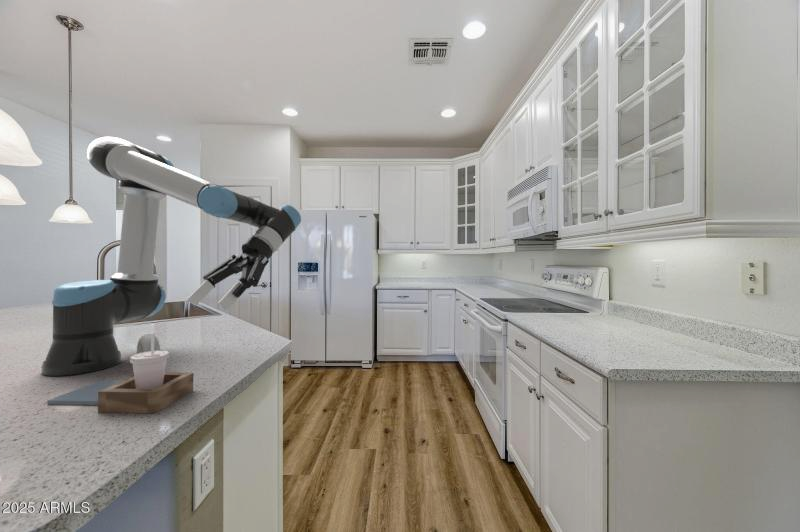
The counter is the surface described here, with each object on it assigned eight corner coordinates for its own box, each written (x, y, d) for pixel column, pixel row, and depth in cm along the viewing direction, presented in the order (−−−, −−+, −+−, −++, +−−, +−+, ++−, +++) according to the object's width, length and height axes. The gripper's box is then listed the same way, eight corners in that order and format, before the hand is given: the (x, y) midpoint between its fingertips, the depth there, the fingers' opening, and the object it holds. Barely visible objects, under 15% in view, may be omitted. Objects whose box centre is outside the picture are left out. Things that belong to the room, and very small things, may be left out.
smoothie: (146, 409, 61) (147, 338, 61) (120, 405, 62) (122, 336, 62) (176, 395, 67) (177, 331, 67) (152, 392, 69) (153, 329, 69)
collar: (144, 389, 70) (145, 371, 70) (193, 390, 70) (193, 372, 70) (97, 412, 59) (98, 391, 59) (155, 413, 59) (155, 392, 59)
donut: (134, 369, 83) (135, 332, 83) (150, 366, 86) (151, 330, 86) (145, 377, 77) (146, 338, 77) (162, 374, 80) (162, 335, 80)
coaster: (100, 383, 73) (100, 380, 73) (146, 384, 73) (146, 380, 73) (47, 404, 62) (47, 400, 62) (102, 405, 62) (102, 401, 62)
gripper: (300, 254, 83) (248, 318, 70) (243, 255, 96) (190, 310, 83) (284, 233, 79) (226, 297, 66) (226, 237, 91) (167, 291, 78)
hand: (206, 304), depth 74 cm, fingers open, 13 cm apart
